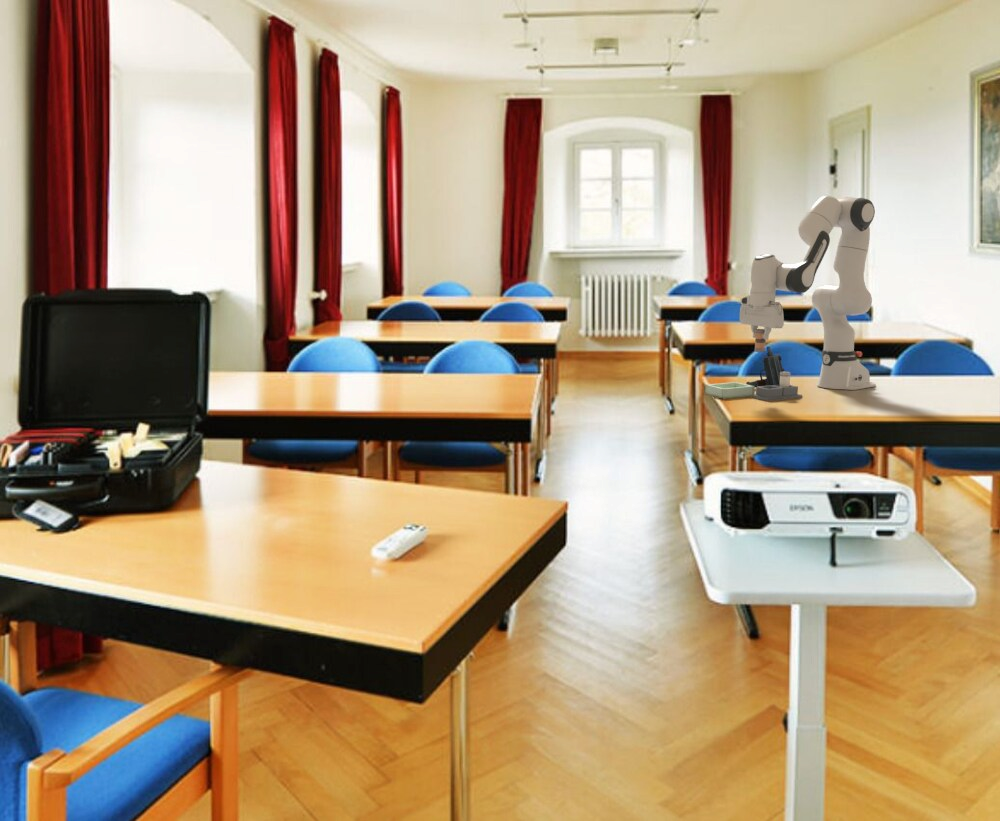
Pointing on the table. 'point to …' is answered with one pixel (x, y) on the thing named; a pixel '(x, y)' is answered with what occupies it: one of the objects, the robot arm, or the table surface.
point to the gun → (770, 370)
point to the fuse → (784, 379)
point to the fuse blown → (759, 341)
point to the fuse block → (776, 393)
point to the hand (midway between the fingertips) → (760, 338)
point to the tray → (729, 390)
